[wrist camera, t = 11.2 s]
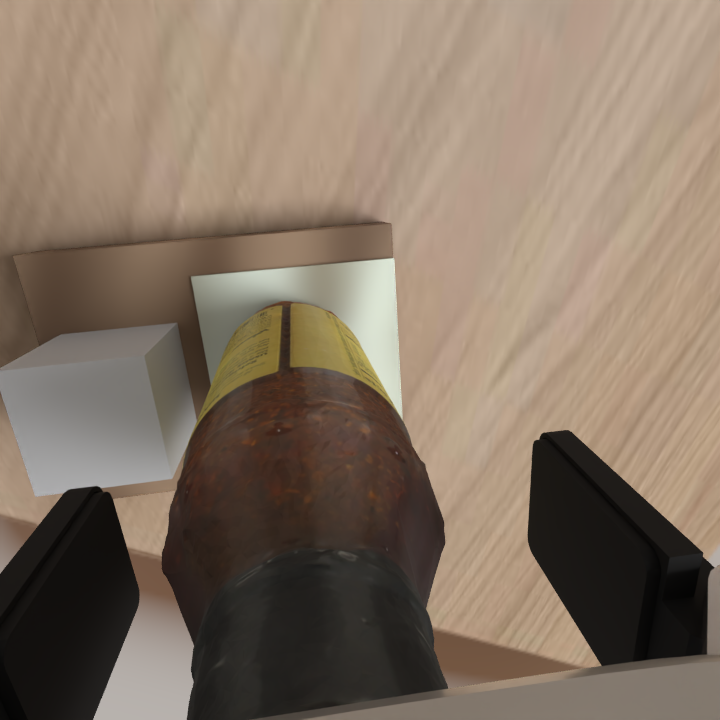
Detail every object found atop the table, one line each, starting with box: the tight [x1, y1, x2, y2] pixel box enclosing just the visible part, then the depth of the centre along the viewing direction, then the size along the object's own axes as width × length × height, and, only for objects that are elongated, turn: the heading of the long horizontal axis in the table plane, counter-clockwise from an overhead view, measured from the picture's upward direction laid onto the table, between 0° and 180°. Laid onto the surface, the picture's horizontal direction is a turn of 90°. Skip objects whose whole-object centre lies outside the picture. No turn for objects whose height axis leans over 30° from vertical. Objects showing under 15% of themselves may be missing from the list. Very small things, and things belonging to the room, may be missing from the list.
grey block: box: [0, 323, 197, 497], centre depth 20 cm, size 5×5×5 cm
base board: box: [13, 222, 403, 499], centre depth 24 cm, size 16×12×2 cm
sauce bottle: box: [162, 301, 448, 720], centre depth 13 cm, size 7×6×20 cm
